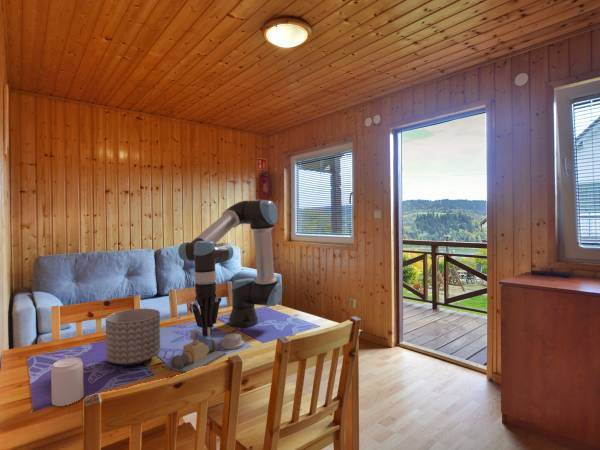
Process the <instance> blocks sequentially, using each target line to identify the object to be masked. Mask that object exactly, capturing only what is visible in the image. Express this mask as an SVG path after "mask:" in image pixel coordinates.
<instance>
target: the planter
mask: <svg viewBox="0 0 600 450" xmlns="http://www.w3.org/2000/svg"><path fill="white" fill-rule="evenodd" d="M160 352H161V312H160V311H159V310H158V309H155V308H131V309H125V310H120V311H116V312H113V313H111V314H110V313H109V314H108V315H107V316H106V317H105V359H106V361H107V362H109V363H111V364H117V365H120V366H137V365H139V364H142V363H144V362H147V361H148V360H150V359H153V358H154V357H156V356H157V355H158V354H159V353H160Z"/></svg>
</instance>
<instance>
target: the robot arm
mask: <svg viewBox="0 0 600 450" xmlns="http://www.w3.org/2000/svg"><path fill="white" fill-rule="evenodd" d="M278 215H279V213H278V209H277V206H276V204H275V203H274V202H273V201H272V200H264V199H263V200H262V199H260V200H258V199H257V200H241V201H238V202H236V203H234V204H232V205H231V206H229V207H228V208H226V209H225V210H224V211H223V212H222V214H221V216H220V217H218V219H217V220H216V221H214V222H213V223H212V224H211V225H209V226H208V227H207V228H206V229H205V230H204V231H202V232H201V233H200V234H199V235H198V236H197V237H195V238H194V239H193V240H191V241H190V242H188V241H187V242H183V243H181V244H179V247H178V250H177V253H178V257H179V258H180V260H182V261H188V262H194V282H195V284H194V290H195V292H194V293H195V299H194V301H193V302H192V303H189V307H190V308H191V310H192V313H193V316H194V319H195V323H196V325H197V327H199V328H202V329H201V331H202V332H201V333H202V334H203V336H208V337H210V338H212V337H211V336H212V334H213V332H212V331H213V327H214V325H215V324H217V319H218V314H219V309H220V305H221V302H222V297H218V295H217V294H216V291H217V283H216V280H217V278H216V265H217V264H220V263H225V262H227V261H230V260H231V259H232V258H233V256H234V248H233V246H232V245H231V244H230V243H228V242H221V243H218V242H219V241H220V240H221V239H223V238H224V236H226V235H227V234H228V232H230V231H231V230H232V229H234V228H237V227H238V226H239V225H250V230H252V231H253V237H254V238H253V239H254V240H253V241H254V251H255V252H254V253H255V263H256V278H253V277H250V278H249V277H248V278H241V279H236V280H234V281H233V282H232V285H231V286H232V287H231V297H232V298H231V302H232V303H231V304H232V306H231V312H230V316H229V318H228V324H229V325H230V326H231V327H235V328H248V327H252V326H255V325H257V324H258V323H259V318H258V315H257V312H256V308H255V307H256V305H257V306H264V307H276V306H277V305H278V304H279V303H280V302H281V298H282V295H283V286H282V284H281V283H280V282H278V278H277V277H276V276H275V270H274V254H273V253H274V252H273V239H272V230H273V229H274V227H275V226H274V225H276V223H277V222H278V218H279V216H278Z"/></svg>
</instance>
